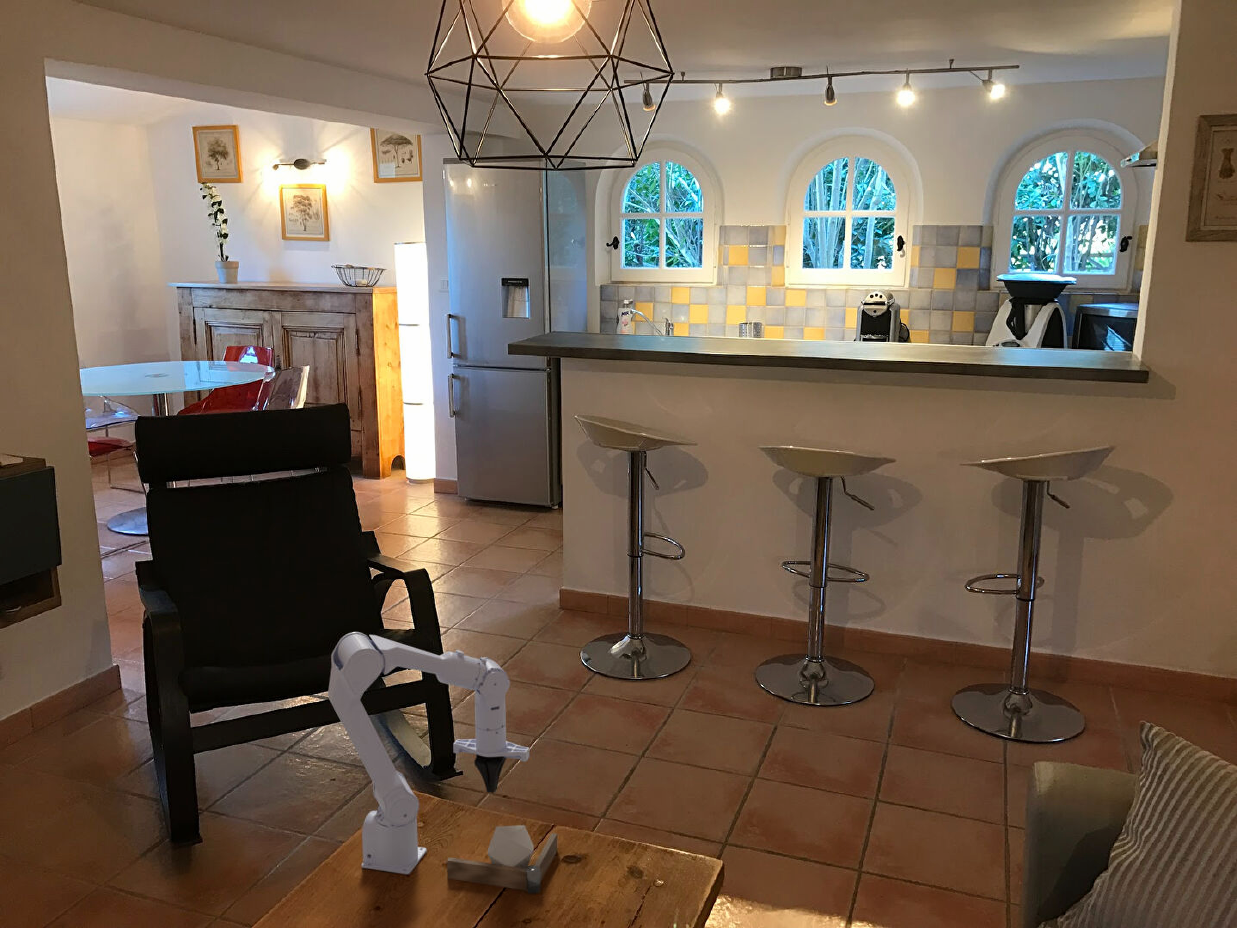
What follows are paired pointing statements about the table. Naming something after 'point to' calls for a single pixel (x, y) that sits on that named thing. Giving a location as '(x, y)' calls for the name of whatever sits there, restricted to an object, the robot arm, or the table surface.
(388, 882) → the table surface
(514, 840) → the die
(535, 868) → the wooden l-shaped bracket
